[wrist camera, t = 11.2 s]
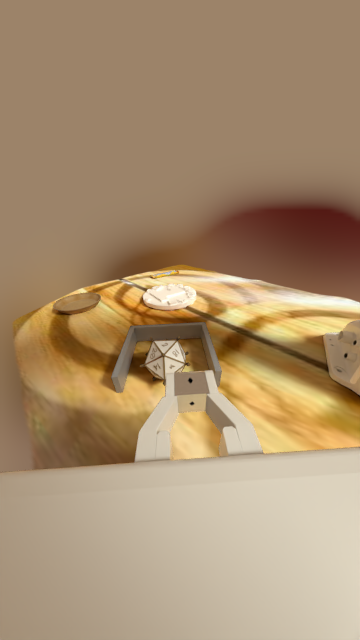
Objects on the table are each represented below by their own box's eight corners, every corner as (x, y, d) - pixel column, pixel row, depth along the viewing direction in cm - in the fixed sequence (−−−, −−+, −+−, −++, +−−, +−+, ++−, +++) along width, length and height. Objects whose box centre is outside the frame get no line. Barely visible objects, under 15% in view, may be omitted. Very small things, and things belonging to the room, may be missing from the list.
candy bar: (176, 272, 94) (175, 269, 93) (180, 274, 91) (180, 270, 90) (149, 278, 86) (149, 274, 85) (153, 280, 83) (153, 276, 82)
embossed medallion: (142, 293, 68) (141, 286, 67) (187, 287, 72) (187, 281, 71) (146, 316, 52) (144, 307, 50) (204, 307, 56) (204, 299, 54)
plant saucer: (88, 295, 67) (86, 289, 66) (111, 303, 60) (109, 297, 59) (48, 310, 57) (44, 303, 55) (70, 322, 50) (66, 314, 48)
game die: (172, 394, 32) (168, 398, 23) (139, 368, 34) (122, 363, 24) (197, 356, 34) (202, 346, 25) (164, 334, 36) (158, 317, 27)
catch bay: (219, 386, 29) (221, 370, 27) (116, 392, 28) (111, 377, 26) (204, 335, 42) (205, 322, 39) (133, 339, 41) (130, 325, 39)
